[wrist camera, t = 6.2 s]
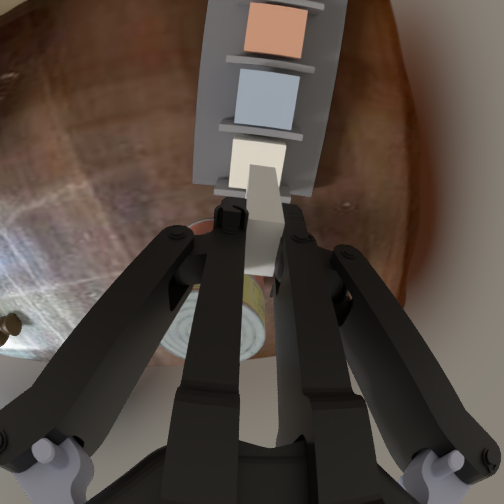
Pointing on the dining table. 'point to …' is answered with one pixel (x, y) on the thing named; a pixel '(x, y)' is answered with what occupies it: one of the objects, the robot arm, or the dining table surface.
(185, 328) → the canned food
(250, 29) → the key terracotta
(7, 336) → the kendama
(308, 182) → the keypad
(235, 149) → the key ivory
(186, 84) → the dining table surface
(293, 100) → the key slate
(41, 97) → the dining table surface
